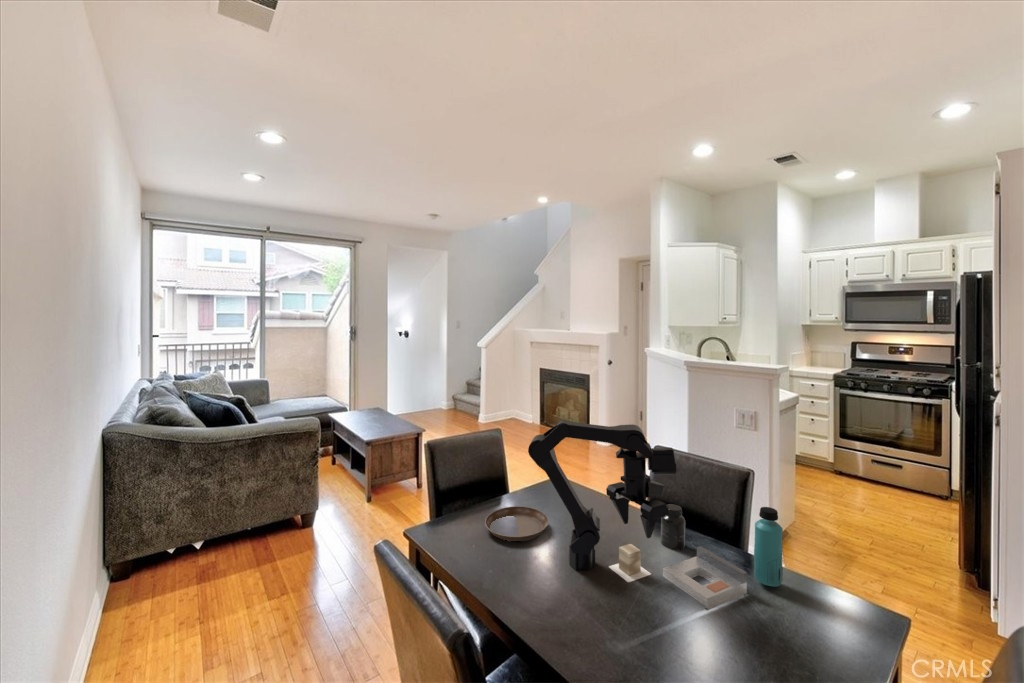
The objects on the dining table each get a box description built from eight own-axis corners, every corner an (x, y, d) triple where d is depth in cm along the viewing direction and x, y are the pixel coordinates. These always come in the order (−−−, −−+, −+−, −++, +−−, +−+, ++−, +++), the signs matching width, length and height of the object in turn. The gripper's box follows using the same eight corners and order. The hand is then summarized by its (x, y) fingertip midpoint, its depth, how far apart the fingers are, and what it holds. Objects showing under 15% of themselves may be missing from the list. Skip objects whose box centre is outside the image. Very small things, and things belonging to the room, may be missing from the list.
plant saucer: (503, 552, 131) (503, 542, 130) (474, 524, 149) (474, 514, 148) (560, 535, 141) (560, 525, 140) (527, 510, 159) (527, 501, 158)
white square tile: (628, 585, 114) (628, 582, 114) (608, 569, 121) (608, 566, 121) (651, 577, 118) (651, 574, 118) (631, 562, 125) (631, 559, 125)
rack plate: (707, 610, 104) (707, 588, 104) (662, 578, 117) (663, 558, 116) (746, 593, 110) (747, 572, 110) (700, 565, 123) (700, 546, 123)
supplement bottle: (686, 553, 129) (687, 513, 128) (662, 550, 130) (662, 511, 130) (682, 541, 136) (683, 503, 135) (659, 539, 137) (659, 501, 136)
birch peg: (628, 576, 117) (629, 554, 116) (618, 568, 120) (619, 547, 120) (640, 572, 118) (640, 550, 118) (630, 564, 122) (630, 543, 122)
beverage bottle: (782, 596, 109) (784, 517, 108) (751, 587, 113) (753, 511, 112) (782, 582, 115) (784, 507, 114) (753, 574, 118) (755, 501, 117)
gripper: (684, 478, 113) (686, 537, 113) (635, 458, 130) (637, 510, 130) (650, 487, 108) (652, 549, 109) (604, 465, 125) (606, 519, 126)
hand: (637, 530), depth 119 cm, fingers open, 9 cm apart
